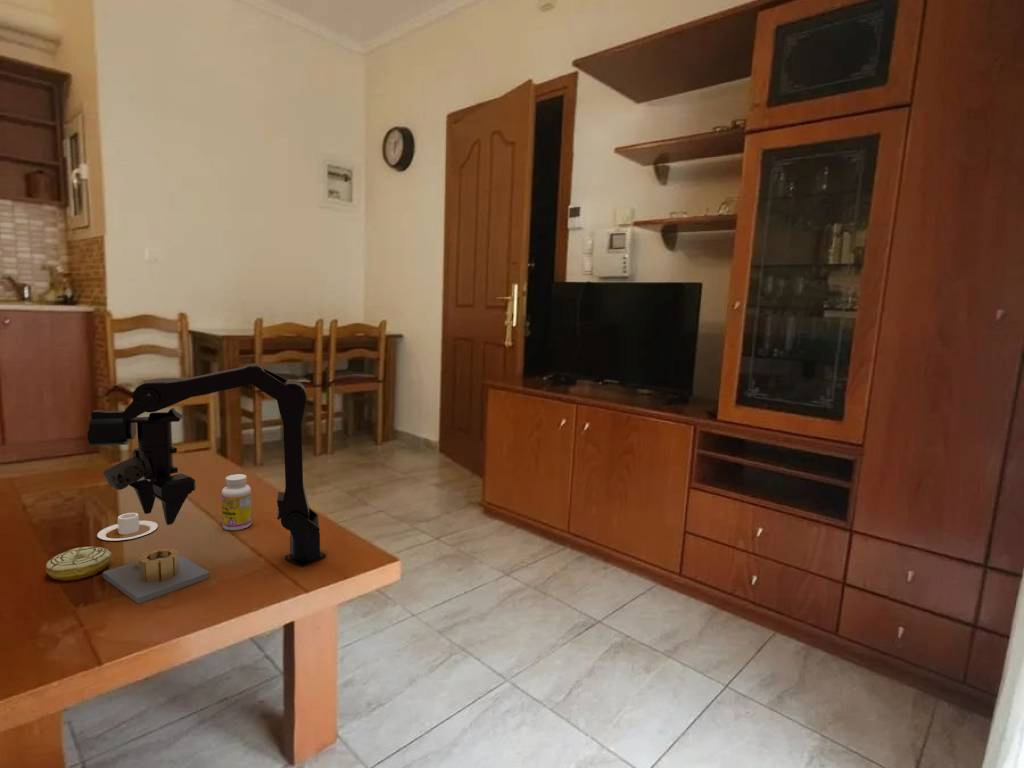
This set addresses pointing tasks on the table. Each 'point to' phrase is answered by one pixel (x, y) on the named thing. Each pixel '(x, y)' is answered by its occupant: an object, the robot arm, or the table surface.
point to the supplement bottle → (236, 503)
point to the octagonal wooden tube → (159, 565)
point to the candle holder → (127, 527)
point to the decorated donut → (78, 563)
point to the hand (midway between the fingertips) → (158, 518)
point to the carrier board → (142, 591)
